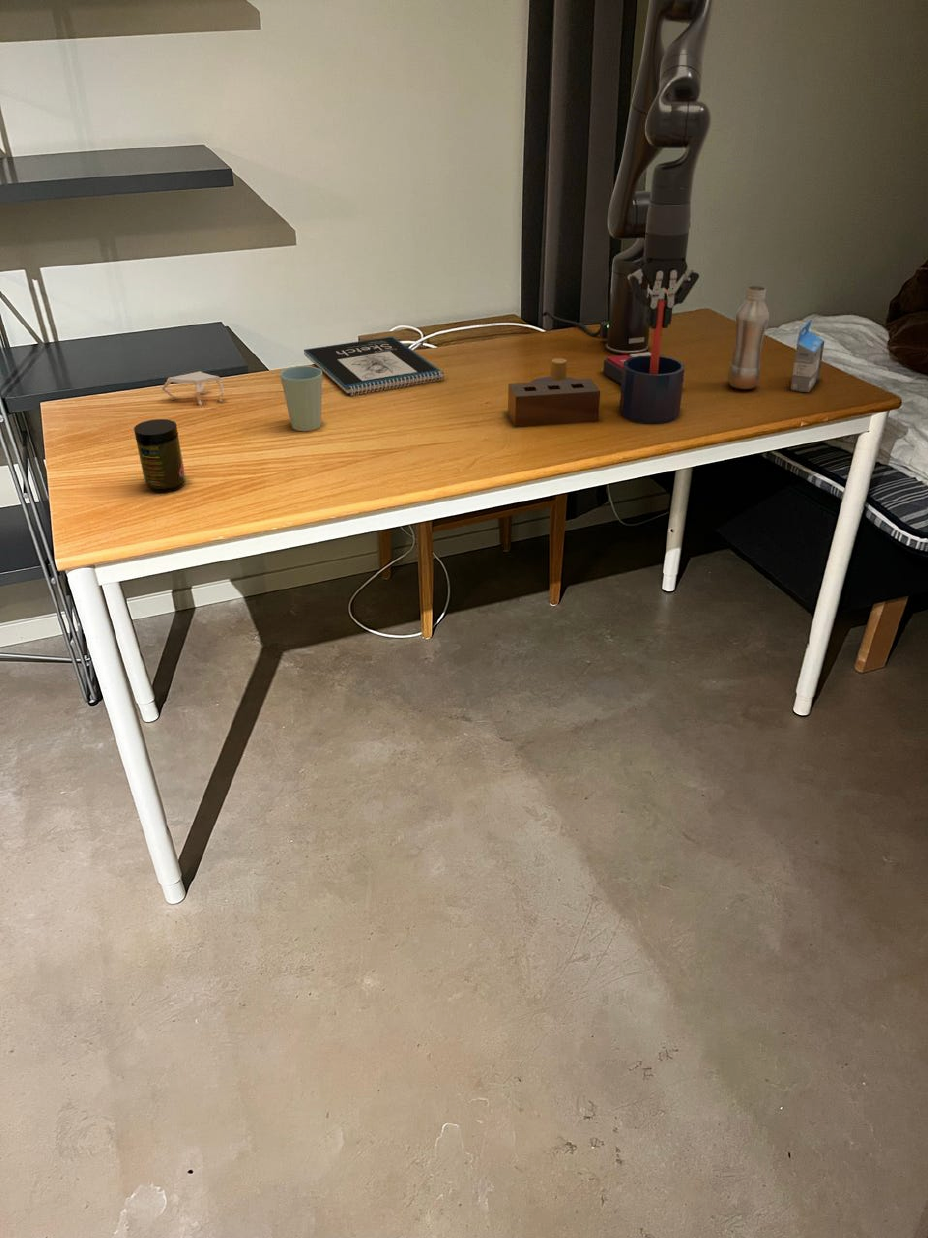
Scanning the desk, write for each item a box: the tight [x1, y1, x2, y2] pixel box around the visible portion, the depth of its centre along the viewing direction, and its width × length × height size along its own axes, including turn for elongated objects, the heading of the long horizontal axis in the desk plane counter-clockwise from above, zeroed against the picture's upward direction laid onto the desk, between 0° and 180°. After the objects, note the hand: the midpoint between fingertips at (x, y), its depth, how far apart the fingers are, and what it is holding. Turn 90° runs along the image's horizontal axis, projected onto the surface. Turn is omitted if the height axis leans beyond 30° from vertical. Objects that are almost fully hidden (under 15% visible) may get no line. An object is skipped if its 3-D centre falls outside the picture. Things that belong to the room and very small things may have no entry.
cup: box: [279, 365, 323, 432], centre depth 185 cm, size 8×8×10 cm
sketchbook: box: [303, 336, 445, 396], centre depth 215 cm, size 22×30×2 cm
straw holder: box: [507, 378, 601, 428], centre depth 189 cm, size 7×16×6 cm, turn 99°
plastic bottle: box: [727, 285, 770, 390], centre depth 198 cm, size 6×7×20 cm
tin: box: [618, 355, 686, 425], centre depth 190 cm, size 11×11×10 cm
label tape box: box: [790, 318, 825, 393], centre depth 201 cm, size 9×4×12 cm, turn 150°
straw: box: [649, 298, 665, 374], centre depth 186 cm, size 2×2×20 cm
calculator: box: [603, 351, 651, 386], centre depth 206 cm, size 11×4×15 cm
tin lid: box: [530, 357, 576, 382], centre depth 200 cm, size 13×13×7 cm
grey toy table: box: [161, 370, 226, 406], centre depth 199 cm, size 12×8×5 cm
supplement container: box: [133, 418, 187, 493], centre depth 164 cm, size 7×7×10 cm
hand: (657, 326), depth 183 cm, fingers closed on straw, 1 cm apart
